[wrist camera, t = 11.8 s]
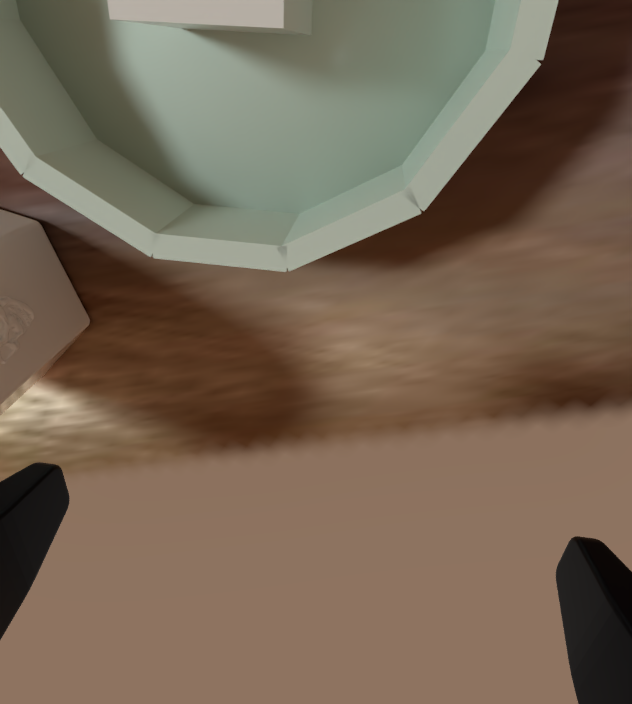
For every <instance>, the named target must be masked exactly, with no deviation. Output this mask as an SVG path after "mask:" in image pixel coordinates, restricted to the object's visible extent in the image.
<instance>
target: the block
mask: <svg viewBox="0 0 632 704" xmlns="http://www.w3.org/2000/svg"><path fill="white" fill-rule="evenodd" d="M107 2H108V9H109V17H110V19H111V20H118V21H126V22H134V23H142V24H149V25H157V26H165V27H173V28H180V29H197V30H216V31H235V32H254V33H273V34H292V35H310V36H311V27H312V0H107Z"/></svg>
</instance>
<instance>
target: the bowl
mask: <svg viewBox="0 0 632 704" xmlns="http://www.w3.org/2000/svg"><path fill="white" fill-rule="evenodd" d="M558 1H559V0H312V27H311V36H310V35H292V34H273V33H254V32H235V31H216V30H197V29H180V28H173V27H165V26H157V25H149V24H142V23H134V22H126V21H118V20H111V19H110V17H109V9H108V2H107V0H0V147H1V149H2V150H3V151H4V153H5V154H6V156H7V157H8V158H9V160H10V161H11V162H12V164H13V165H14V166H15V168H16V169H17V171H18V172H19V173H20V175H21V174H24V175H23V177H24V178H25V179H27V180H29V181H30V182H32V183H33V184H35V185H37V186H38V187H40V188H41V189H43V190H44V191H46V192H48V193H49V194H51V195H52V196H54V197H56V198H57V199H59V200H60V201H62V202H64V203H65V204H67V205H68V206H70V207H72V208H73V209H75V210H76V211H78V212H79V213H81V214H83V215H84V216H86V217H87V218H89V219H91V220H92V221H94V222H95V223H97V224H99V225H100V226H102V227H103V228H105V229H106V230H108V231H110V232H111V233H113V234H114V235H116V236H118V237H119V238H121V239H122V240H124V241H126V242H127V243H129V244H130V245H132V246H133V247H135V248H137V249H138V250H140V251H141V252H143V253H145V254H146V255H148V256H149V257H151V256H153V258H156V259H166V260H176V261H185V262H195V263H205V264H215V265H224V266H234V267H244V268H253V269H263V270H273V271H282V272H287V270H289V271H292V270H294V269H296V268H298V267H301V266H303V265H305V264H308V263H310V262H312V261H314V260H317V259H319V258H321V257H324V256H326V255H328V254H330V253H333V252H335V251H337V250H339V249H342V248H344V247H346V246H349V245H351V244H353V243H355V242H358V241H360V240H362V239H365V238H367V237H369V236H371V235H374V234H376V233H378V232H381V231H383V230H385V229H387V228H390V227H392V226H394V225H397V224H399V223H401V222H403V221H406V220H408V219H410V218H413V217H415V216H417V215H419V214H422V213H421V210H423V211H425V210H426V209H427V207H428V206H429V205H430V204H431V202H432V201H433V200H434V199H435V197H436V196H437V195H438V193H439V192H440V191H441V190H442V188H443V187H444V186H445V185H446V183H447V182H448V181H449V180H450V178H451V177H452V176H453V175H454V173H455V172H456V171H457V170H458V168H459V167H460V166H461V165H462V163H463V162H464V161H465V160H466V158H467V157H468V156H469V154H470V153H471V152H472V151H473V149H474V148H475V147H476V146H477V144H478V143H479V142H480V141H481V139H482V138H483V137H484V136H485V134H486V133H487V132H488V131H489V129H490V128H491V127H492V126H493V124H494V123H495V122H496V121H497V119H498V118H499V117H500V115H501V114H502V113H503V112H504V110H505V109H506V108H507V107H508V105H509V104H510V103H511V102H512V100H513V99H514V98H515V97H516V95H517V94H518V93H519V92H520V90H521V89H522V88H523V87H524V85H525V84H526V83H527V82H528V80H529V79H530V78H531V77H532V75H533V74H534V73H535V71H536V70H537V69H538V68H539V66H540V65H541V64H540V63H539V62H538V61H537V60H543V59H544V55H545V52H546V48H547V44H548V40H549V36H550V32H551V28H552V24H553V20H554V16H555V12H556V9H557V5H558Z"/></svg>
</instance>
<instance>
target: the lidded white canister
mask: <svg viewBox="0 0 632 704" xmlns="http://www.w3.org/2000/svg"><path fill="white" fill-rule="evenodd" d="M89 324H90V319H89V317H88V315H87V313H86V311H85V309H84V307H83V305H82V303H81V301H80V299H79V297H78V295H77V293H76V291H75V289H74V287H73V286H72V284H71V282H70V280H69V278H68V276H67V274H66V272H65V270H64V268H63V266H62V264H61V262H60V260H59V258H58V256H57V255H56V253H55V251H54V249H53V247H52V245H51V243H50V241H49V239H48V237H47V235H46V233H45V231H44V229H43V227H42V225H41V224H40V223H39V222H38V221H36V220H33V219H30V218H27V217H24V216H20V215H17V214H14V213H11V212H8V211H5V210H2V209H0V415H1V414H3V413H4V412H5V411H6V410H7V409H8V408H9V407H10V406H11V405H12V404H13V403H14V402H16V401H17V400H18V399H19V398H20V397H21V396H22V395H23V394H24V393H25V392H26V391H27V390H28V389H30V388H31V387H32V386H33V385H34V384H35V383H36V382H37V381H38V380H39V379H40V378H41V377H43V375H44V374H45V373H46V372H47V371H48V370H49V369H50V368H51V367H52V365H53V364H54V363H55V362H56V361H57V360H58V359H59V358H60V357H61V355H62V354H63V353H64V352H65V351H66V350H67V349H68V348H69V347H70V346H71V344H72V343H73V342H74V341H75V340H76V339H77V338H78V337H79V336H80V334H81V333H82V332H83V331H84V330H85V329H86V328H87V327H88V326H89Z"/></svg>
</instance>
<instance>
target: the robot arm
mask: <svg viewBox="0 0 632 704" xmlns="http://www.w3.org/2000/svg"><path fill="white" fill-rule="evenodd" d="M68 505H69V493H68V490H67V486H66V483H65V479H64V476H63V472H62V469H61V468H60V467H59V466H58V465H55V464H48V463H40V462H38V463H34V464H31V465H29V466H28V467H26V468H24V469H22V470H21V471H19V472H17V473H15V474H13V475H12V476H10V477H8V478H6V479H5V480H3V481H1V482H0V639H1V638H2V636H3V634H4V633H5V631H6V629H7V628H8V626H9V624H10V623H11V621H12V619H13V617H14V616H15V614H16V612H17V611H18V609H19V607H20V606H21V604H22V602H23V600H24V599H25V597H26V595H27V593H28V591H29V590H30V587H31V586H32V584H33V582H34V580H35V578H36V576H37V574H38V571H39V569H40V567H41V565H42V563H43V560H44V558H45V556H46V554H47V552H48V550H49V547H50V545H51V543H52V541H53V539H54V537H55V535H56V533H57V530H58V528H59V526H60V524H61V522H62V520H63V517H64V515H65V513H66V511H67V509H68ZM556 582H557V589H558V595H559V602H560V608H561V614H562V621H563V627H564V634H565V640H566V646H567V653H568V659H569V665H570V670H571V675H572V680H573V683H574V688H575V692H576V696H577V700H578V703H579V704H632V572H631V571H630V570H629V569H628V568H627V567H626V566H625V564H624V563H623V562H622V561H621V560H620V559H618V557H616V555H615V554H614V553H613V552H612V551H611V550H610V549H609V548H608V547H607V546H606V545H605V544H604V543H603V542H601V541H600V540H597V539H593V538H585V537H573V538H572V539H571V540H570V541H569V543H568V545H567V547H566V549H565V551H564V553H563V555H562V557H561V560H560V561H559V563H558V566H557V570H556Z"/></svg>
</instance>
